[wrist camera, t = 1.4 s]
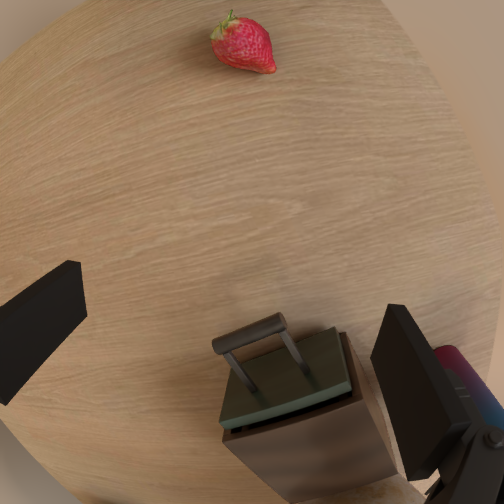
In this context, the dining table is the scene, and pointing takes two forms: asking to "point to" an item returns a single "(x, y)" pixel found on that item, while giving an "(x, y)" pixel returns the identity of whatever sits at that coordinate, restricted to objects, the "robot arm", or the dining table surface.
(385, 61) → the dining table surface
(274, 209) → the dining table surface
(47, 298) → the robot arm
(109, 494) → the dining table surface
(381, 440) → the cabinet
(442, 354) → the cup
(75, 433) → the dining table surface
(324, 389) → the drawer
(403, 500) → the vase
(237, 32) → the fruit
